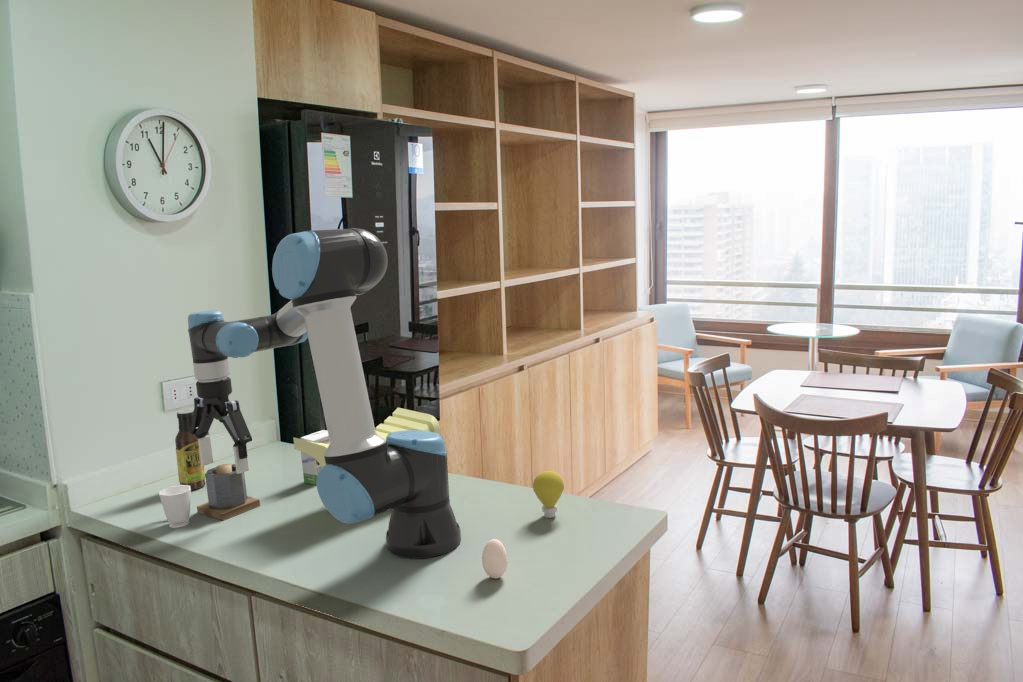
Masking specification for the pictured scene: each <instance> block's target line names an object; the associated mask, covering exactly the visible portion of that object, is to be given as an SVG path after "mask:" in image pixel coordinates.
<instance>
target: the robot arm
mask: <svg viewBox="0 0 1023 682" xmlns="http://www.w3.org/2000/svg"><path fill="white" fill-rule="evenodd" d="M387 253H388V252H387V250H386V248H385V246H384V244H383V242H382V241H381V240H380V239H379V238H378V237H377V236H376V235H375V234H373V233H372V232H370V231H368V230H366V229H363V228H357V227H350V228H337V229H335V228H334V229H319V230H317V229H316V230H305V231H301V232H295V233H290V234H288V235H286V236H285V237H283V238H282V239H281V240H280V241H279V243H278V244H277V246H276V249H275V252H274V254H273V257H272V265H271V266H272V267H271V271H272V279H273V283H274V287H275V289H276V290H278V293H279V295H280V296H282V297H283V298H285V299H288V300H290V301H289V302H287V303H286V304H285V305H283V306H282V308H280V309H279V310H278V311H276V312H275V313H274V314H271V315H270V314H269V315H265V316H264V315H263V316H259V317H253V318H245V319H241V320H234V321H233V320H232V321H225V319H224V317H223V313H222V312H221V310H217V309H216V310H215V309H214V310H213V309H212V310H211V309H210V310H202V311H195V312H191V313H190V314H189V315H188V316H187V325H188V326H187V327H188V328H187V332H188V337H189V342H190V350H191V357H192V365H193V373H194V375H193V376H194V379H195V380H196V382H195V387H196V394H197V395H196V396H197V397H194V399H193V405H194V407H193V411H194V413H193V419H192V425H191V430H190V432H191V434H192V435H193V434H194V435H195V437H196V438H197V439H198V446H199V451H200V458H201V466H204V467H205V466H207V465H210V464H214V457H213V450H212V442H211V435H210V432H209V431H210V429H211V426H212V424H213V422H214V420H216V421H217V420H218V421H219V423H222V425H223V426H224V428H225V429H226V431H227V433H228V434H229V436H230V437H231V439H232V441H233V445H232V448H233V456H234V464H235V465H236V472H237V474H240V473H243V472H244V473H245V472H248V471H249V470H250V469H249V461H248V449H247V443H250V442H253V437H252V435H251V433H250V430H249V428H248V425H247V423H246V420H245V418H244V416H243V413H242V411H241V409H240V408H241V407H240V402H239V401H238V399H236V400H233V401H230V399H229V396H230V395H231V394H232V392H233V387H232V379H231V378H230V377H229V375H230V365H229V358H233V359H238V358H247V357H249V356H251V355H252V354H253V353H257V352H262V351H266V350H271V349H277V348H282V347H287V346H289V347H290V346H296V345H297V344H300V343H303V342H305V341H306V340H307V339H308V344H309V349H310V353H311V357H312V362H313V367H314V368H313V369H314V372H315V376H316V382H317V387H318V392H319V395H320V401H321V405H322V411H323V416H324V419H325V426H326V430H327V431H328V435H329V440H330V444H329V446H328V448H327V449H326V451H325V452H324V458H325V463H326V465H325V466H323V467H322V469H320V470H319V472H318V475H317V476H318V477H317V480H316V483H317V485H316V490H317V493H318V496H319V499H320V501H321V503H322V505H323V506H324V507H325V509H326V510H327V512H329V513H330V514H331V516H333V518H335V519H336V520H338V521H340V522H341V523H344V524H348V525H350V524H355V523H359V522H361V521H365V520H366V521H367V520H369V519H372V518H373V517H375V516H376V515H379V514H382V513H384V512H386V511H389V510H391V513H390V516H389V521H388V528H387V531H386V533H385V545H386V550H387V551H388V552H389V553H390V554H392V555H394V556H396V557H399V558H403V559H427V558H428V559H429V558H433V557H438V556H440V555H444V554H447V553H449V552H451V551H453V550H454V549H455V548H456V549H457V547H458V546H459V545H460V544H461V541H462V534H461V527H460V524H459V523H458V522H457V519H456V516H455V513H454V510H453V507H452V506H451V502H450V501H451V499H450V489H449V488H450V487H449V472H448V452H447V449H446V442H445V439H444V437H443V436H442V434H441V435H439V434H437V433H434V432H429V431H419V430H406V431H397V432H392V433H390V434H388V435H387V437H386V440H385V439H384V438H382V437H381V436H379V435H378V434H377V433H376V431H375V428H376V427H375V423H374V417H373V411H372V408H371V403H370V399H369V393H368V389H367V384H366V383H367V382H366V378H365V373H364V368H363V364H362V363H363V362H362V359H361V353H360V349H359V344H358V340H357V335H356V330H355V325H354V321H353V319H354V318H353V314H352V311H351V308H352V305H353V304H354V303H355V301H356V299H357V296H360V295H364V294H366V293H367V292H369V291H370V290H371V289H373V288H374V287H375V286H376V285H378V283H379V282H380V281H381V280H382V279H383V277H384V276H385V275H386V272H387V268H388V262H389V260H388V254H387ZM209 435H210V436H209Z"/></svg>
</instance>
